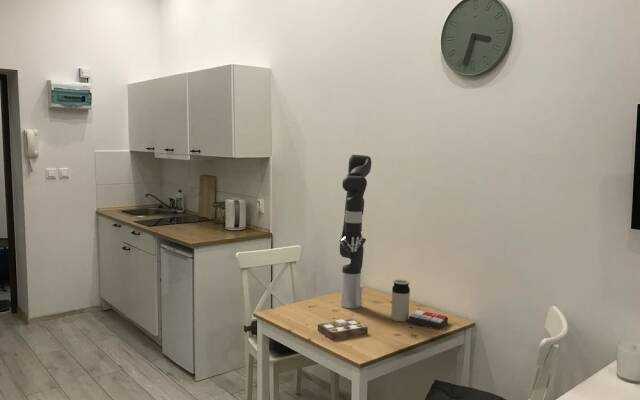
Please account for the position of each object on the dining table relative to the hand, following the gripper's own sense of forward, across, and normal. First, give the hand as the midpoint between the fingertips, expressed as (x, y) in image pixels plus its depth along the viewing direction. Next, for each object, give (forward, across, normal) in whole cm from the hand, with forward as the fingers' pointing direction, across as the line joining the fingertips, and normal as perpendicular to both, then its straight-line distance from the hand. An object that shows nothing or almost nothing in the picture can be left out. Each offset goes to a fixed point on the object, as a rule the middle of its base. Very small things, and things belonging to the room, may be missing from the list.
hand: (352, 259), depth 238 cm
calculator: (+30, -33, +15) cm, 46 cm away
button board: (+29, +10, +9) cm, 32 cm away
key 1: (+28, +16, +7) cm, 33 cm away
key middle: (+27, +9, +8) cm, 30 cm away
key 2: (+28, +3, +8) cm, 30 cm away
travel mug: (+29, -24, +5) cm, 38 cm away
